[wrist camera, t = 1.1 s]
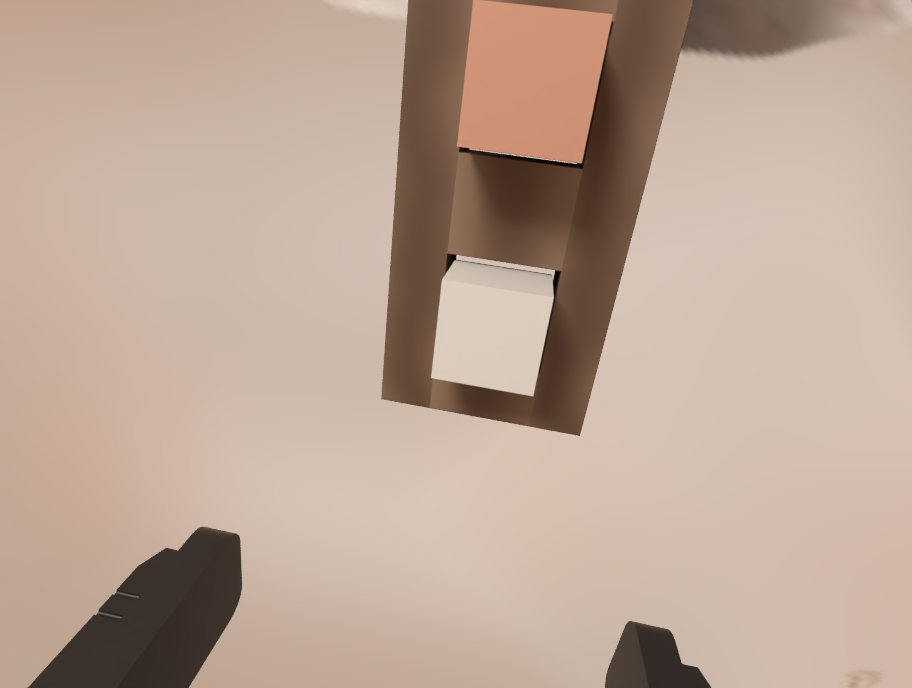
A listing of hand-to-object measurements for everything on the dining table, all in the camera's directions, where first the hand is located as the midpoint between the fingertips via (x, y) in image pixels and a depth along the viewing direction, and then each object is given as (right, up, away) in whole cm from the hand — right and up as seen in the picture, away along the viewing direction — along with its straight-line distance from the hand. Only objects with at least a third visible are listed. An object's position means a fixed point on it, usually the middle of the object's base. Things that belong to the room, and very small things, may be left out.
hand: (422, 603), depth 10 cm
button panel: (+4, +13, +18) cm, 23 cm away
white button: (+3, +7, +18) cm, 20 cm away
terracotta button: (+4, +17, +14) cm, 22 cm away
